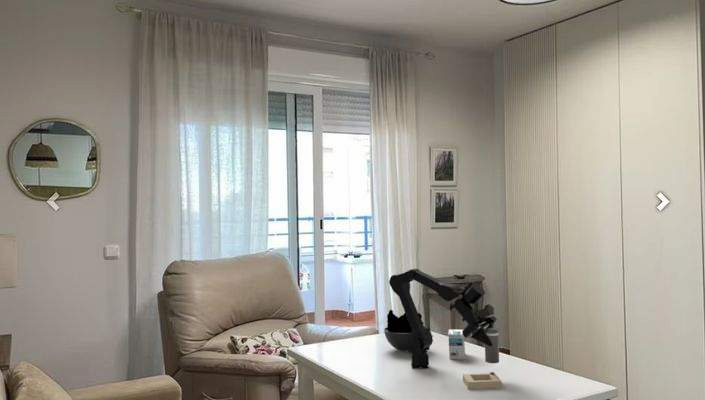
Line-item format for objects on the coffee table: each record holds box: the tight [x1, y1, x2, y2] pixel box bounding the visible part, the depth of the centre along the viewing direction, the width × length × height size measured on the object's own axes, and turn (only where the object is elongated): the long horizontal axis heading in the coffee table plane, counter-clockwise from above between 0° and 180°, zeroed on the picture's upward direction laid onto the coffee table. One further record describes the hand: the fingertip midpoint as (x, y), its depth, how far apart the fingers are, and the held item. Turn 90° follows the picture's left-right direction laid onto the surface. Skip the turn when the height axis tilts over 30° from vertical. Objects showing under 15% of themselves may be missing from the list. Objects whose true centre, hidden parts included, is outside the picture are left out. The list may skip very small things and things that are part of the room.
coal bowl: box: [383, 309, 428, 352], centre depth 255 cm, size 20×20×19 cm
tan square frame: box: [462, 371, 503, 390], centre depth 203 cm, size 12×10×3 cm
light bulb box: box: [447, 328, 466, 360], centre depth 243 cm, size 11×7×11 cm, turn 168°
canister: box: [484, 327, 500, 364], centre depth 208 cm, size 5×5×12 cm
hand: (495, 344), depth 207 cm, fingers closed on canister, 5 cm apart
